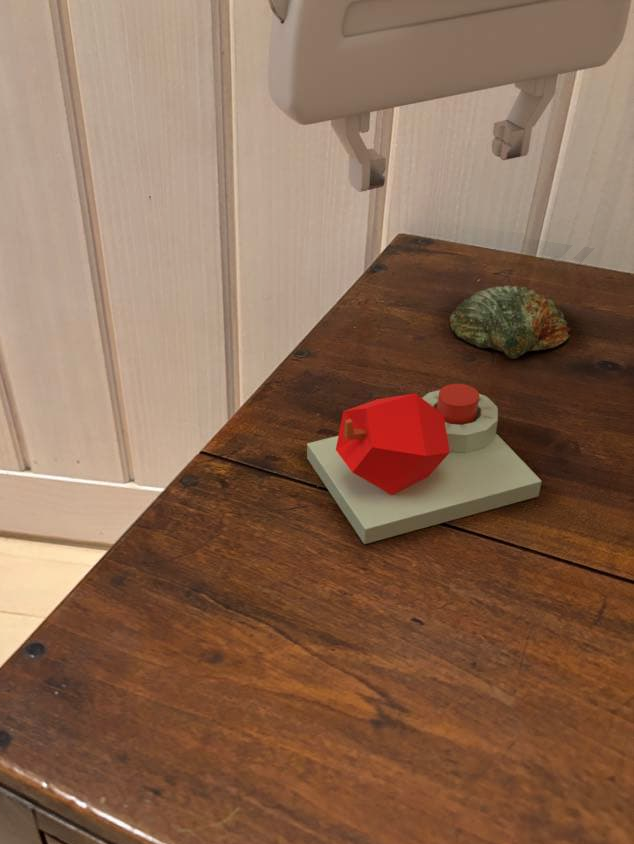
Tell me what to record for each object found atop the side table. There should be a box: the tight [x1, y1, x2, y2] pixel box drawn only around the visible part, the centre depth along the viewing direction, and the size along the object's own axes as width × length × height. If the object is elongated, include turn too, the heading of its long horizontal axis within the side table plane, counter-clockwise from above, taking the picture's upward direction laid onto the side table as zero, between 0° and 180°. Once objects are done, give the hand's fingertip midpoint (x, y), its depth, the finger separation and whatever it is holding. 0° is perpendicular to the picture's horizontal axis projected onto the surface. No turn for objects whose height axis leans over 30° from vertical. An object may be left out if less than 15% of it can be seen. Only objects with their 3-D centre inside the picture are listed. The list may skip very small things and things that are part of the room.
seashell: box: [449, 285, 571, 360], centre depth 78 cm, size 10×4×10 cm
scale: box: [306, 389, 543, 545], centre depth 64 cm, size 13×10×3 cm
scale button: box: [437, 383, 480, 425], centre depth 65 cm, size 3×3×2 cm
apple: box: [336, 393, 450, 495], centre depth 61 cm, size 7×7×8 cm
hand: (438, 170), depth 55 cm, fingers open, 8 cm apart
